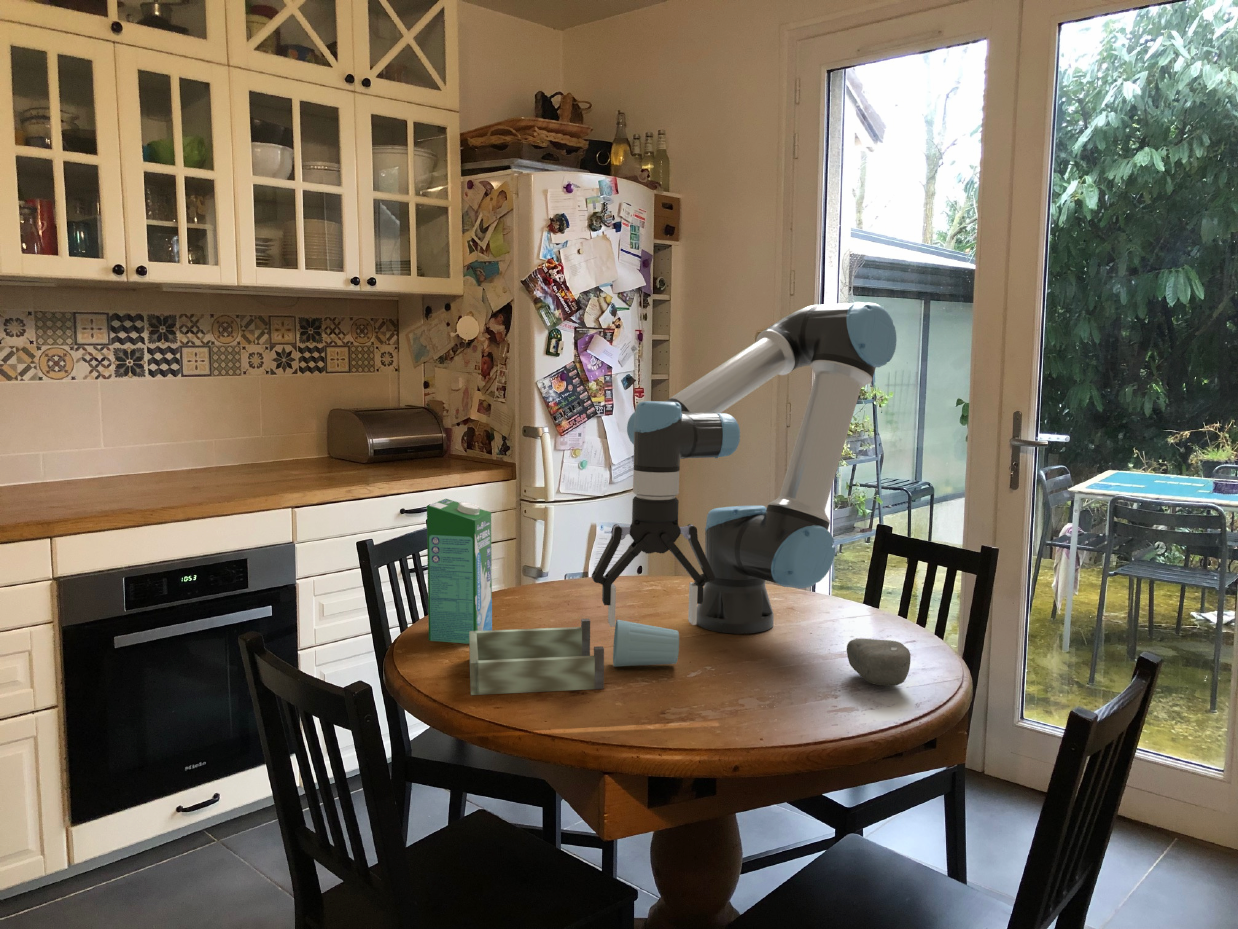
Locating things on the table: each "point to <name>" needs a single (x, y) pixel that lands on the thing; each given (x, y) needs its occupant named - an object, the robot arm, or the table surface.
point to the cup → (644, 644)
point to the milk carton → (458, 570)
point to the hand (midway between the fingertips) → (652, 623)
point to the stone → (879, 660)
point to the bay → (534, 660)
